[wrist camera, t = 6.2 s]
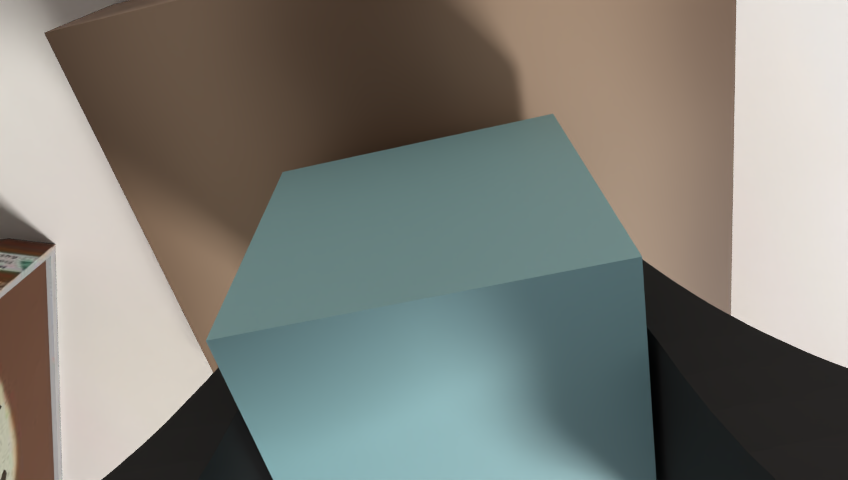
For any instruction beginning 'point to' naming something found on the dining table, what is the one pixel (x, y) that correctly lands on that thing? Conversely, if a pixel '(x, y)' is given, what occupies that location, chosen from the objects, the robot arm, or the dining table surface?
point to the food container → (29, 363)
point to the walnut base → (404, 111)
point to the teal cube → (443, 318)
